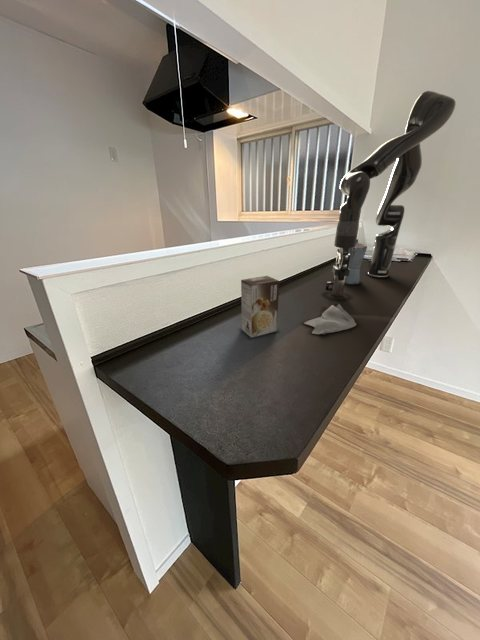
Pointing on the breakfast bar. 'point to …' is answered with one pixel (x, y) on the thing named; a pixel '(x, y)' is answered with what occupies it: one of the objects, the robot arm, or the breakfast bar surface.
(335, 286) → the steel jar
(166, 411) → the breakfast bar surface
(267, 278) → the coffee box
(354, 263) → the moka pot
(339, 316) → the cloth
